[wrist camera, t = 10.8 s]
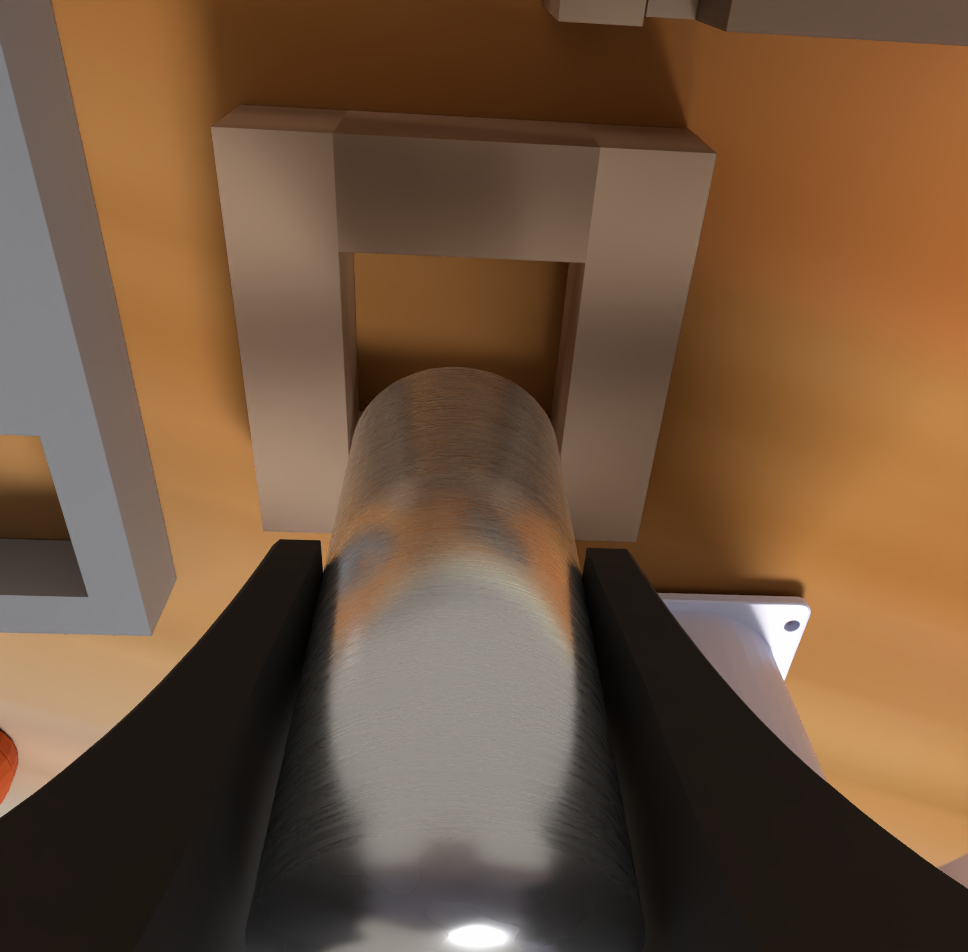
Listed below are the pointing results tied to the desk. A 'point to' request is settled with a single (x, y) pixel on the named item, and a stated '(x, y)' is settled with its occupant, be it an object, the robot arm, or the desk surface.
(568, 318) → the socket block
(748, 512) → the desk surface
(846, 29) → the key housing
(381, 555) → the shiny metal cylinder
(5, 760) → the toy drill
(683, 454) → the desk surface
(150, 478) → the rack
